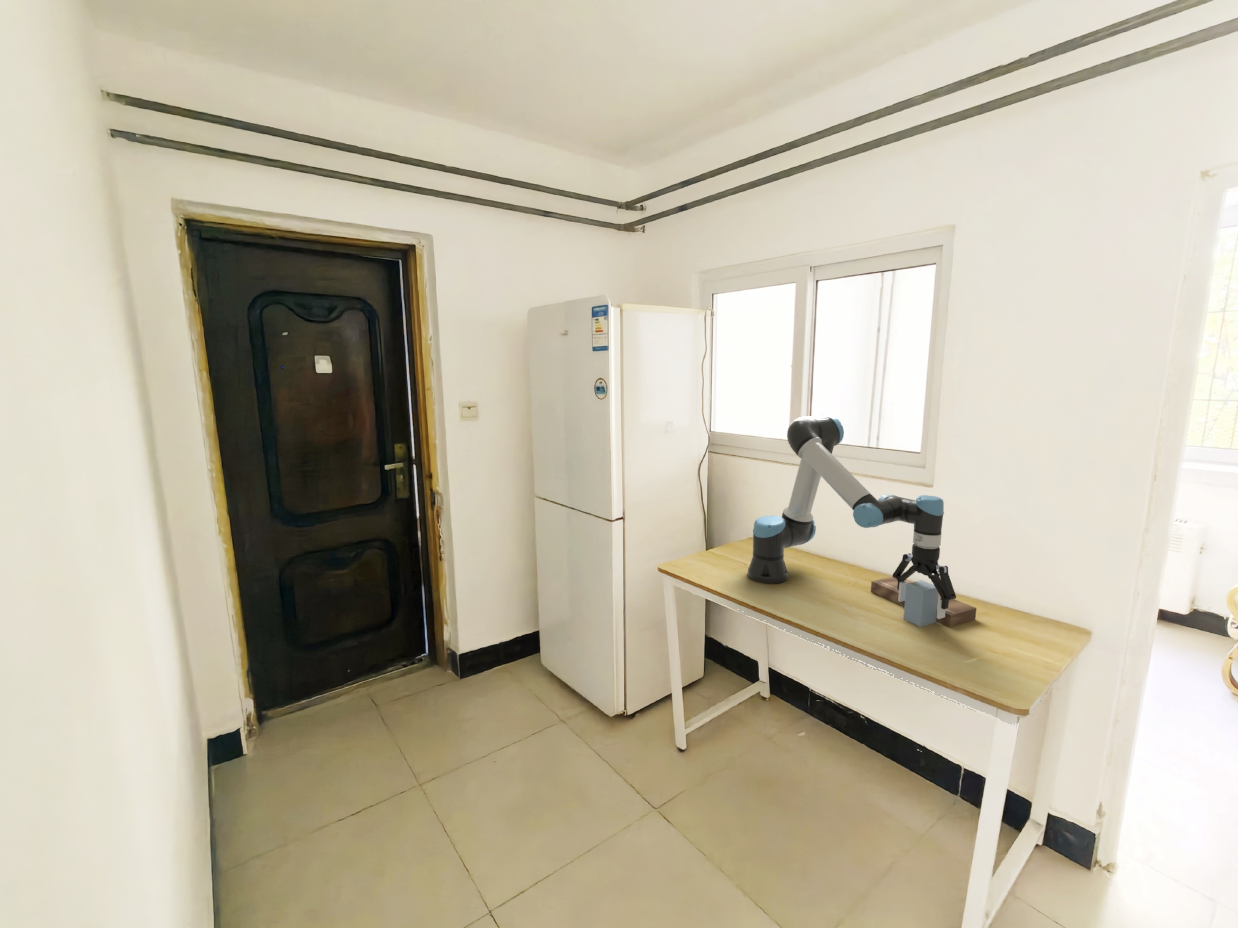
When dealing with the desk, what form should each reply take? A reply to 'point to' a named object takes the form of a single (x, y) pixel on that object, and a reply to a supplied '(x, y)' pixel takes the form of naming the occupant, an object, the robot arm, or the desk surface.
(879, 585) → the plank
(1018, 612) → the desk surface
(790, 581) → the desk surface
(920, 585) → the pale blue block
